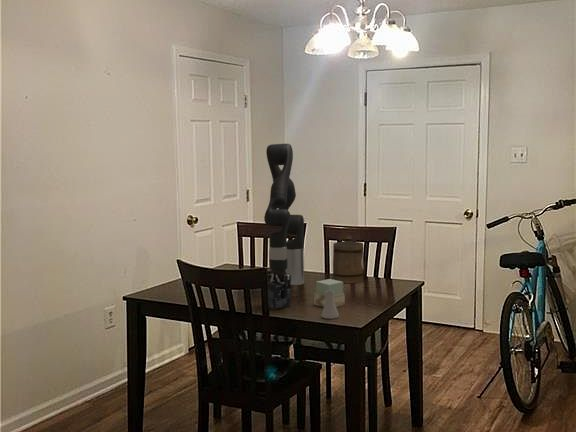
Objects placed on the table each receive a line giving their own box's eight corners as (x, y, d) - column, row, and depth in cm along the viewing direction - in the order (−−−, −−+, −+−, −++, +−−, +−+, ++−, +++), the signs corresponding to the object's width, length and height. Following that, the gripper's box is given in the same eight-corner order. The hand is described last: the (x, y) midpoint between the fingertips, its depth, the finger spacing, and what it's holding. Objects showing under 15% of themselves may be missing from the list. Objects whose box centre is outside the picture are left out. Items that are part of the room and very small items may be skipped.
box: (274, 309, 265) (274, 284, 264) (267, 307, 270) (267, 282, 268) (290, 306, 269) (290, 281, 268) (283, 304, 274) (282, 279, 273)
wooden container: (369, 281, 315) (369, 236, 313) (345, 285, 308) (345, 239, 305) (350, 275, 328) (350, 232, 325) (327, 279, 320) (326, 235, 317)
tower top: (316, 293, 272) (315, 281, 271) (330, 290, 277) (330, 278, 276) (328, 296, 266) (328, 284, 265) (343, 293, 270) (343, 282, 270)
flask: (319, 314, 257) (319, 289, 256) (337, 314, 257) (337, 289, 256) (322, 319, 250) (321, 294, 248) (340, 319, 250) (340, 293, 249)
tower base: (314, 304, 273) (314, 293, 272) (330, 301, 278) (330, 290, 277) (328, 309, 266) (328, 297, 265) (344, 305, 271) (344, 293, 270)
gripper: (260, 256, 270) (261, 295, 272) (281, 261, 259) (282, 302, 261) (275, 254, 275) (275, 292, 277) (296, 258, 264) (296, 299, 266)
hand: (278, 297), depth 269 cm, fingers open, 6 cm apart
